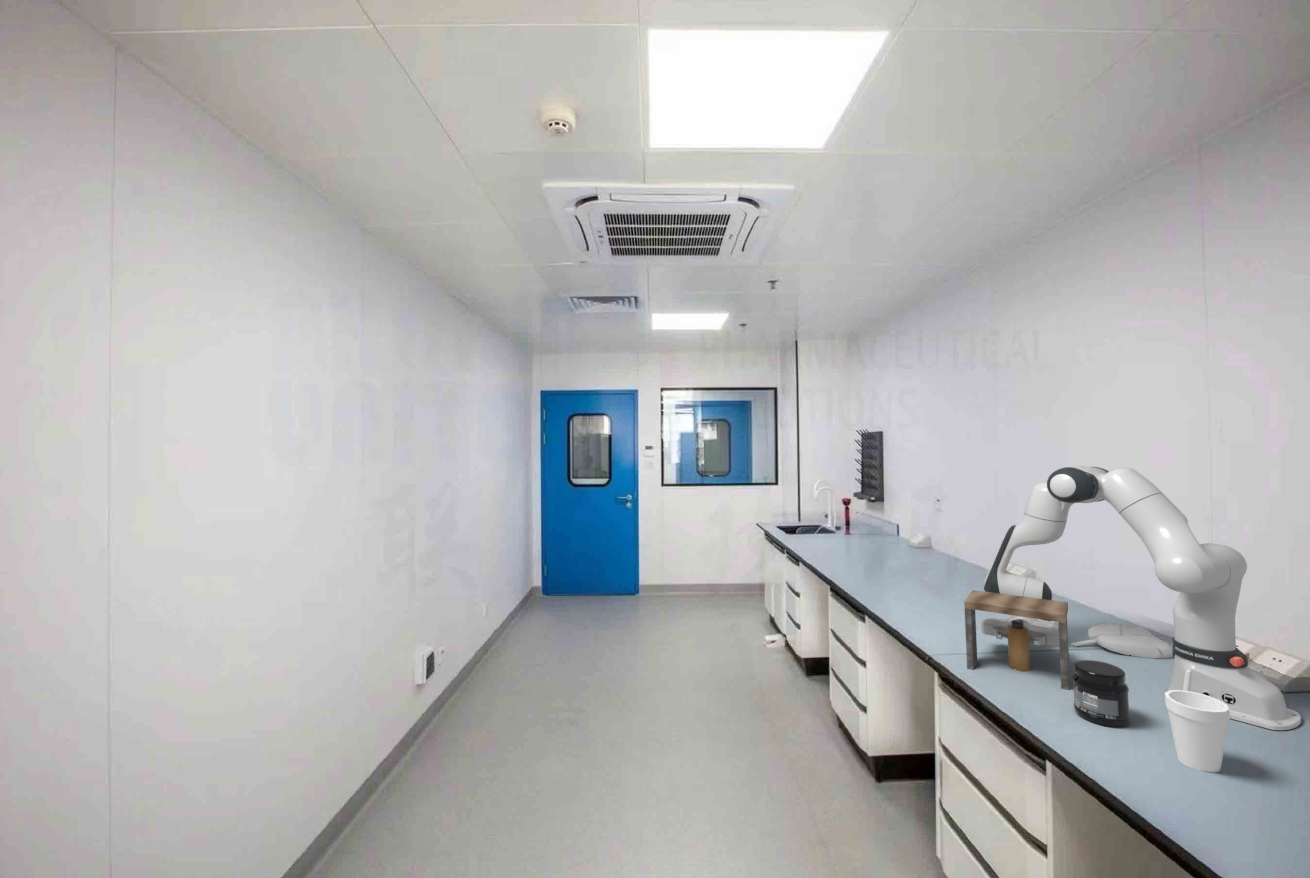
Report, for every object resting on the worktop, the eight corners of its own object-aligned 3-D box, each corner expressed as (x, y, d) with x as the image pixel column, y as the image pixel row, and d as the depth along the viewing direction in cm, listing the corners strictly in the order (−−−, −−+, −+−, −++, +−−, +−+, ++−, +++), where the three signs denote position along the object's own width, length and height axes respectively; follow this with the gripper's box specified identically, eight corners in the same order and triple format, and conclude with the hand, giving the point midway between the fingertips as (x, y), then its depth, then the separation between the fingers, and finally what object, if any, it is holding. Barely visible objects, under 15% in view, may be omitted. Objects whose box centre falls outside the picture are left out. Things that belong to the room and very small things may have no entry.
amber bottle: (1034, 668, 157) (1032, 622, 157) (1023, 672, 155) (1021, 626, 155) (1015, 662, 162) (1013, 617, 162) (1005, 666, 160) (1003, 620, 160)
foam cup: (1197, 748, 116) (1194, 689, 116) (1245, 775, 107) (1243, 710, 107) (1155, 751, 116) (1152, 691, 116) (1199, 778, 107) (1197, 713, 107)
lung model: (1184, 660, 159) (1091, 665, 163) (1141, 639, 176) (1058, 645, 180) (1180, 637, 160) (1088, 643, 164) (1138, 619, 177) (1055, 625, 181)
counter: (1070, 671, 155) (1067, 602, 155) (1068, 689, 144) (1065, 615, 144) (975, 652, 170) (972, 590, 170) (967, 668, 159) (964, 601, 160)
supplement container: (1120, 710, 133) (1118, 662, 133) (1137, 732, 123) (1135, 680, 123) (1068, 703, 137) (1066, 656, 137) (1081, 723, 128) (1078, 673, 128)
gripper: (983, 610, 175) (976, 622, 165) (1062, 621, 162) (1059, 635, 152) (984, 629, 175) (977, 642, 165) (1063, 642, 162) (1060, 658, 152)
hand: (1017, 639), depth 158 cm, fingers open, 8 cm apart
